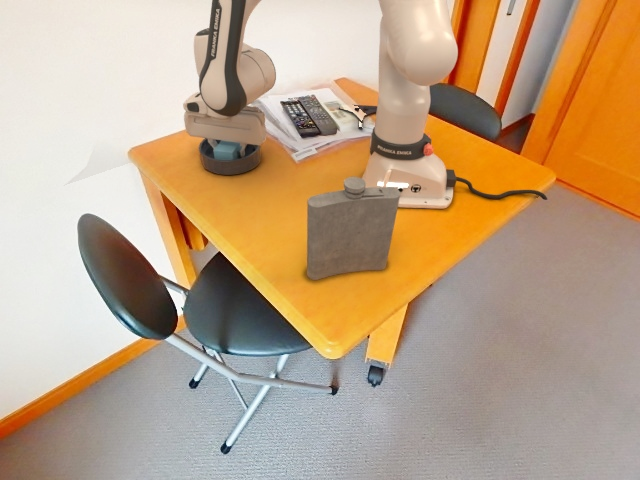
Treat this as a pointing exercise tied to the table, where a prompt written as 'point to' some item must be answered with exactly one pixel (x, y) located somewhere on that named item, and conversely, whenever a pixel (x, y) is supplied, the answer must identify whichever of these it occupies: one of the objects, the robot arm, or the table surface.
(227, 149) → the sponge
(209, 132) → the robot arm
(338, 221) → the hip flask
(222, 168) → the bowl
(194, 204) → the table surface
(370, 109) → the bracket
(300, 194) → the table surface
